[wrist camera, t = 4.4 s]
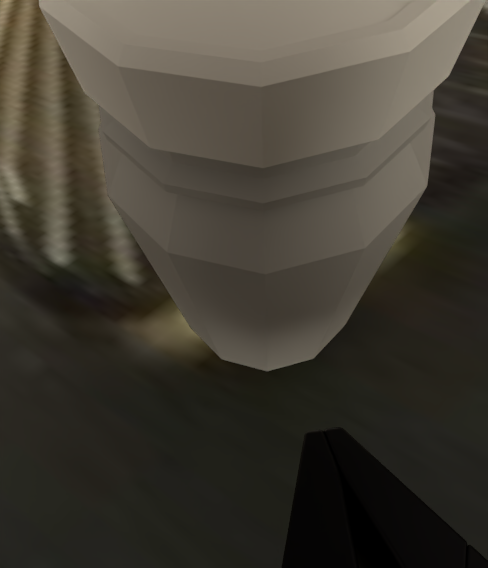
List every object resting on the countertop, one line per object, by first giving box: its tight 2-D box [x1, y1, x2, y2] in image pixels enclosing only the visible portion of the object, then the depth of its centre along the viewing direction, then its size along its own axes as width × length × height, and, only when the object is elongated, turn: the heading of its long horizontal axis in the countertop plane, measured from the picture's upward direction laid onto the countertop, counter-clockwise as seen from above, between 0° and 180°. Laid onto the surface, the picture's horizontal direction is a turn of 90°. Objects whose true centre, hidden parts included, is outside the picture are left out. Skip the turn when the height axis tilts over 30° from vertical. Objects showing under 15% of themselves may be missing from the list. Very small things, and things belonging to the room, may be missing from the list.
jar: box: [39, 0, 485, 371], centre depth 15 cm, size 10×10×18 cm
